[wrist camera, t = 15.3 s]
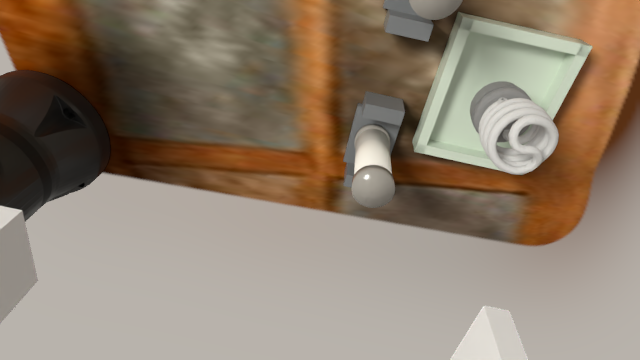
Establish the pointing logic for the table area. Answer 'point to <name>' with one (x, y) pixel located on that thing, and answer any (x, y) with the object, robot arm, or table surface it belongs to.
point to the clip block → (381, 106)
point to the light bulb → (512, 127)
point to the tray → (487, 67)
